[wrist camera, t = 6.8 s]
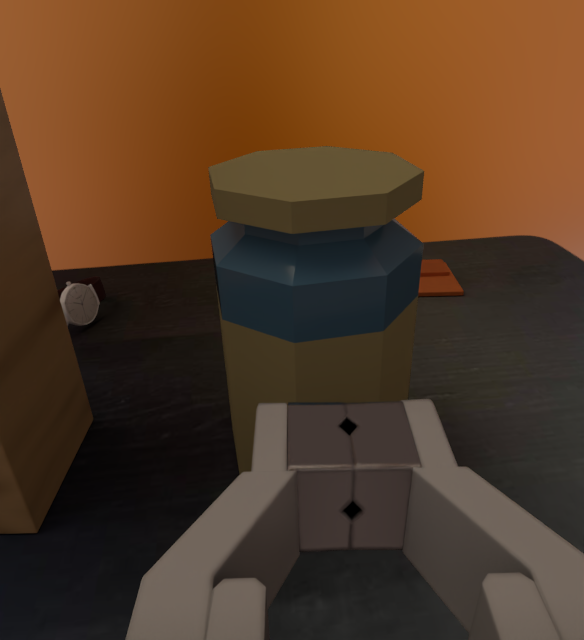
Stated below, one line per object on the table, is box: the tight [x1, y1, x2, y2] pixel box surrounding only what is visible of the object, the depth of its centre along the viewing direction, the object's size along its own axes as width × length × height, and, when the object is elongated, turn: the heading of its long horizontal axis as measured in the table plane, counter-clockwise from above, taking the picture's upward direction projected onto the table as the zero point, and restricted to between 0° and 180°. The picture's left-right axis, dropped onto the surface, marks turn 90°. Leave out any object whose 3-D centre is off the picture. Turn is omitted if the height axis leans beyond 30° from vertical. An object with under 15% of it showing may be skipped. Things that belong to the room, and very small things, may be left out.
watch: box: [57, 277, 106, 326], centre depth 41 cm, size 8×5×4 cm, turn 158°
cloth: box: [418, 259, 464, 297], centre depth 46 cm, size 14×6×1 cm, turn 90°
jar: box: [209, 146, 424, 474], centre depth 24 cm, size 9×9×15 cm
